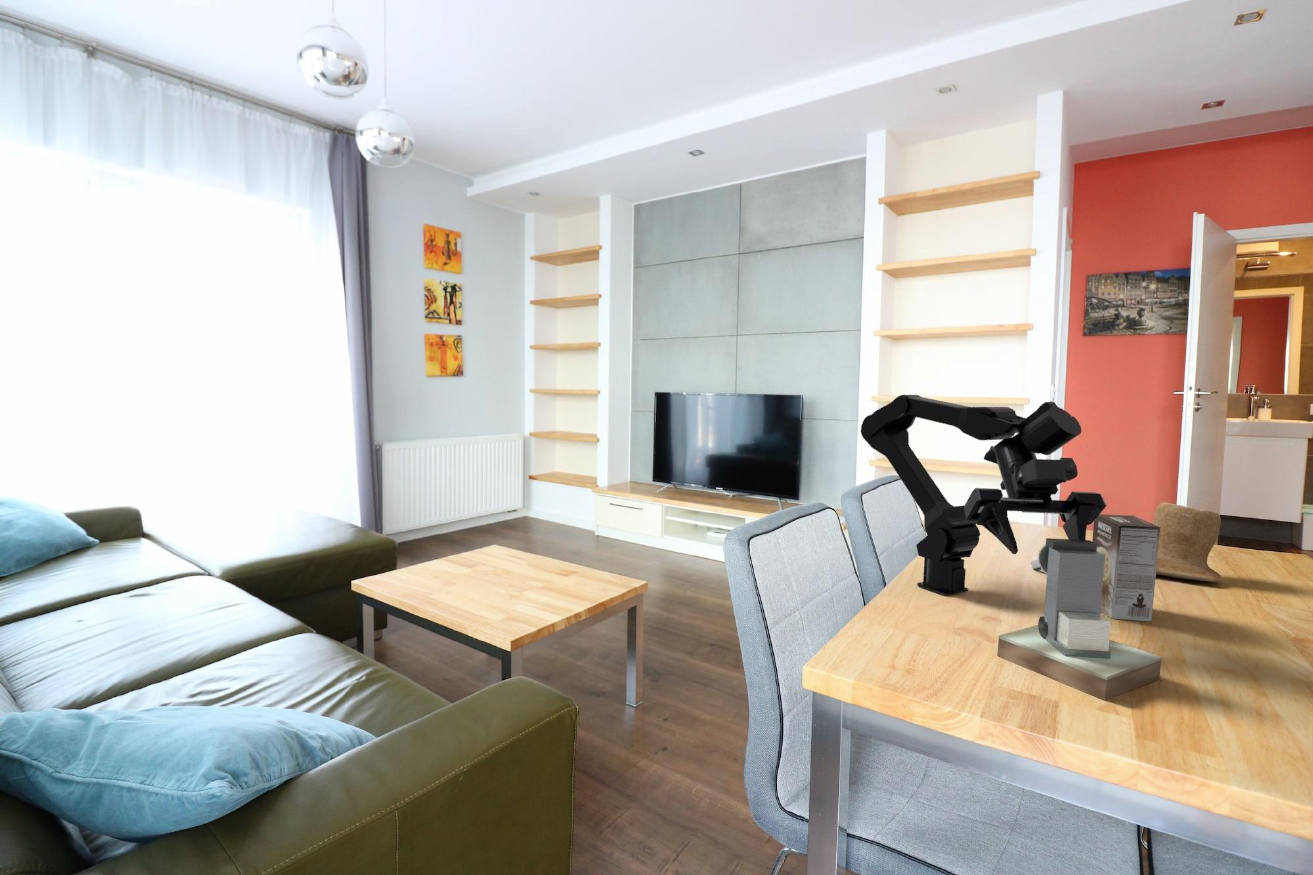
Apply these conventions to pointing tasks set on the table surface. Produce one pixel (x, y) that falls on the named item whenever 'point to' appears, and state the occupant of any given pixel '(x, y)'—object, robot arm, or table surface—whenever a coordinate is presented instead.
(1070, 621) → the hand trolley
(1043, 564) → the ceramic mug
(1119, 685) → the plate
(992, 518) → the robot arm
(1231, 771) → the table surface
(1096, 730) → the table surface
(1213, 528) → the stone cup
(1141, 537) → the coffee box
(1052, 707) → the table surface
